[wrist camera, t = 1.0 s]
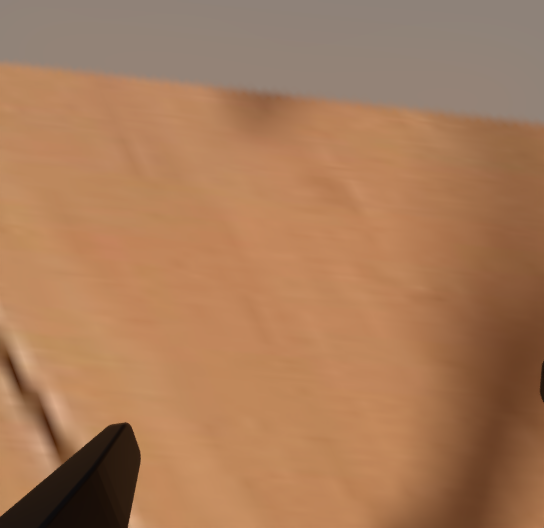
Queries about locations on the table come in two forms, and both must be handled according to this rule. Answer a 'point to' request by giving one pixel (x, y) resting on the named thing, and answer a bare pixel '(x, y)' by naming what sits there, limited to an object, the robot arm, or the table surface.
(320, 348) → the table surface
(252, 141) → the table surface
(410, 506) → the table surface
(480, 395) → the table surface
